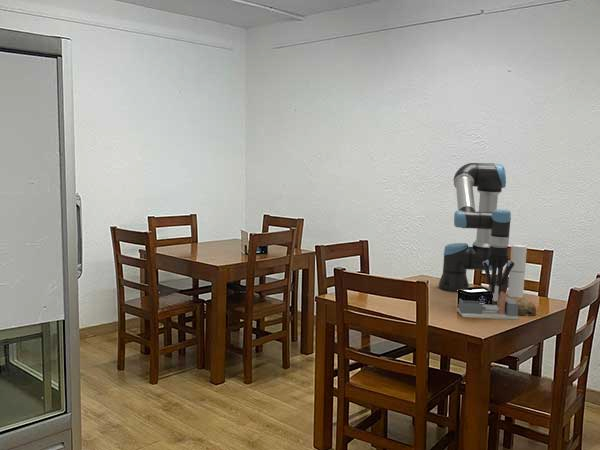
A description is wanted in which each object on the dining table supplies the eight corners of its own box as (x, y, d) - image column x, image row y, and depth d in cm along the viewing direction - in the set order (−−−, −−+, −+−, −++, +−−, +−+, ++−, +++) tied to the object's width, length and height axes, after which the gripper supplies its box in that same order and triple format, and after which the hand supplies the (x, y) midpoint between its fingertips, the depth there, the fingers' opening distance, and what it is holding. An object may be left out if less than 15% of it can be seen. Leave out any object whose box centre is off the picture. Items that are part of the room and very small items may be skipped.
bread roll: (516, 323, 266) (522, 309, 262) (505, 308, 274) (510, 294, 270) (536, 322, 268) (542, 308, 264) (524, 307, 277) (530, 293, 273)
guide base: (456, 309, 271) (457, 295, 270) (509, 312, 270) (510, 297, 270) (463, 317, 259) (464, 302, 258) (518, 319, 258) (519, 304, 258)
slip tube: (477, 310, 267) (479, 290, 266) (510, 311, 267) (512, 291, 265) (480, 313, 263) (481, 292, 262) (514, 314, 262) (515, 294, 261)
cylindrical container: (507, 296, 300) (511, 246, 297) (507, 293, 307) (511, 244, 304) (523, 298, 298) (527, 247, 295) (522, 295, 305) (526, 245, 302)
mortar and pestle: (497, 299, 293) (500, 258, 291) (514, 303, 287) (517, 261, 284) (483, 302, 286) (486, 260, 284) (500, 306, 279) (503, 263, 277)
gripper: (486, 246, 258) (482, 301, 260) (517, 248, 257) (512, 303, 260) (481, 244, 265) (477, 297, 268) (511, 245, 265) (507, 298, 267)
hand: (494, 300), depth 264 cm, fingers closed
